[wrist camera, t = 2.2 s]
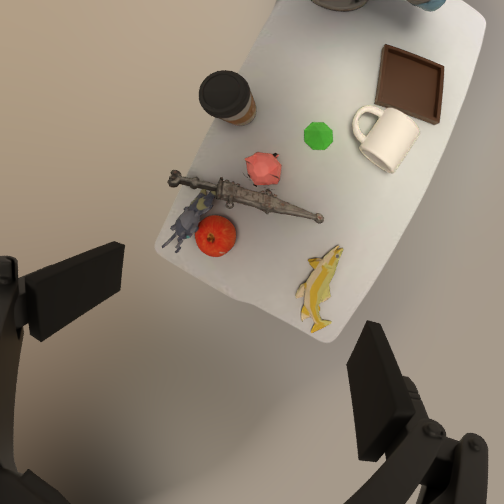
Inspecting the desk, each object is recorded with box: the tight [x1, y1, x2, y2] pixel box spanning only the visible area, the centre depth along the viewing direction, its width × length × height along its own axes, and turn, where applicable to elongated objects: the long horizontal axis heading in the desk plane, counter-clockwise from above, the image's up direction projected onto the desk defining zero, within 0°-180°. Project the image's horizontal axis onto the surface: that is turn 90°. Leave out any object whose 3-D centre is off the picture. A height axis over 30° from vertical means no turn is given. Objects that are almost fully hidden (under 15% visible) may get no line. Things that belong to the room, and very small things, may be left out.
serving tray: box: [375, 44, 444, 125], centre depth 47 cm, size 14×14×3 cm
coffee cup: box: [199, 70, 256, 126], centre depth 49 cm, size 8×8×15 cm
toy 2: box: [295, 246, 343, 333], centre depth 61 cm, size 20×3×10 cm
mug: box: [352, 105, 420, 174], centre depth 49 cm, size 12×10×8 cm
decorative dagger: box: [168, 170, 324, 223], centre depth 54 cm, size 7×2×30 cm
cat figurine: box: [243, 152, 281, 190], centre depth 52 cm, size 7×7×12 cm
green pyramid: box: [304, 122, 333, 150], centre depth 52 cm, size 6×6×6 cm
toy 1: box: [162, 189, 216, 253], centre depth 57 cm, size 15×4×15 cm
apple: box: [195, 215, 236, 257], centre depth 59 cm, size 8×8×8 cm
